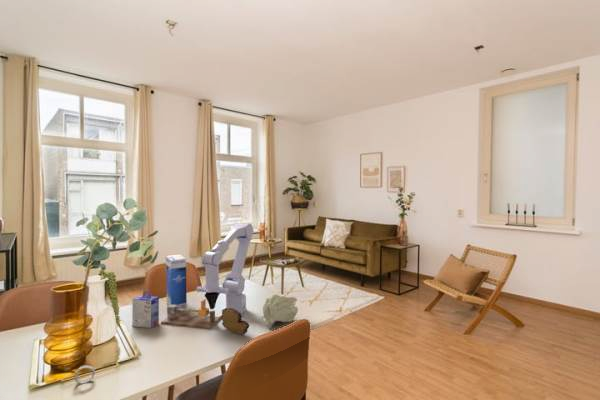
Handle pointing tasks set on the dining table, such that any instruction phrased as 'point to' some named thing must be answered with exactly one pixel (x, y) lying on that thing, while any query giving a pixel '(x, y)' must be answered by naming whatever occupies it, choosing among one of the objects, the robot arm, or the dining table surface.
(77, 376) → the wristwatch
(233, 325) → the wooden carving
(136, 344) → the dining table surface
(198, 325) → the cord rail
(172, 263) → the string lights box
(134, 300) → the ink cartridge box
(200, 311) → the orange plastic bracket
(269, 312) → the folded clay sculpture
